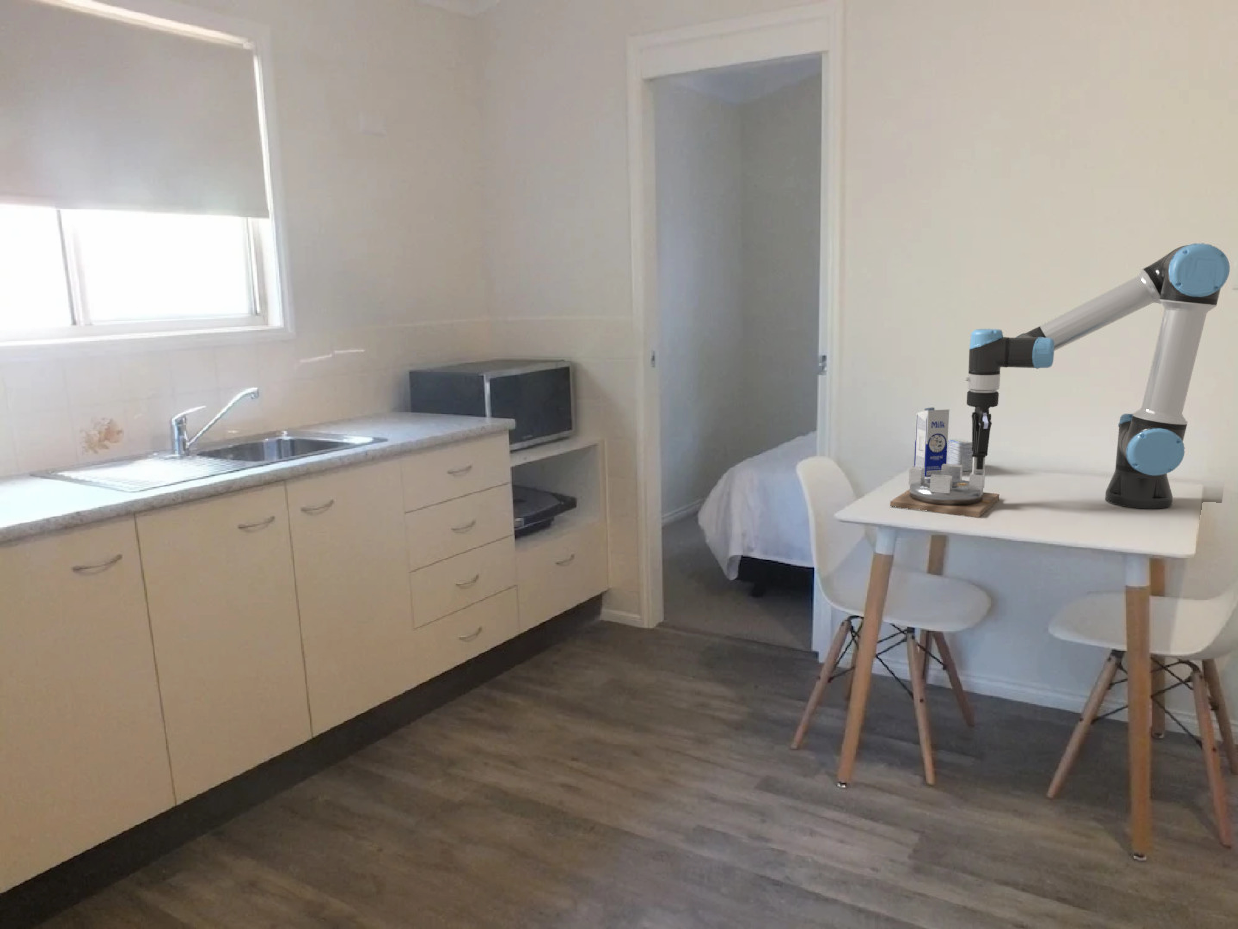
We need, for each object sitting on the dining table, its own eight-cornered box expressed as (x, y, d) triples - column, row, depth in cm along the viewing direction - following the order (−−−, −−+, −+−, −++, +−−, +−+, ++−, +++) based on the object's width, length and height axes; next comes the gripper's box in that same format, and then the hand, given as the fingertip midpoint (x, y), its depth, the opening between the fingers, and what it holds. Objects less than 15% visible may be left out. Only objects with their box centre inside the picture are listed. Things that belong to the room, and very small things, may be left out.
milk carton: (924, 476, 275) (927, 409, 271) (913, 472, 281) (916, 406, 277) (946, 475, 276) (949, 408, 272) (934, 471, 283) (937, 405, 279)
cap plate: (999, 499, 246) (999, 493, 245) (979, 517, 228) (979, 510, 227) (915, 490, 258) (915, 484, 257) (890, 507, 240) (890, 500, 239)
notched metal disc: (997, 501, 236) (999, 474, 235) (936, 507, 231) (937, 480, 230) (954, 487, 253) (955, 461, 252) (895, 492, 248) (897, 466, 247)
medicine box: (974, 470, 282) (975, 442, 280) (961, 471, 281) (962, 443, 279) (959, 466, 290) (960, 438, 288) (946, 466, 289) (947, 439, 287)
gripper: (963, 387, 243) (958, 475, 248) (972, 393, 231) (966, 486, 236) (993, 387, 242) (988, 475, 247) (1004, 393, 229) (998, 486, 234)
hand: (977, 480), depth 241 cm, fingers closed
